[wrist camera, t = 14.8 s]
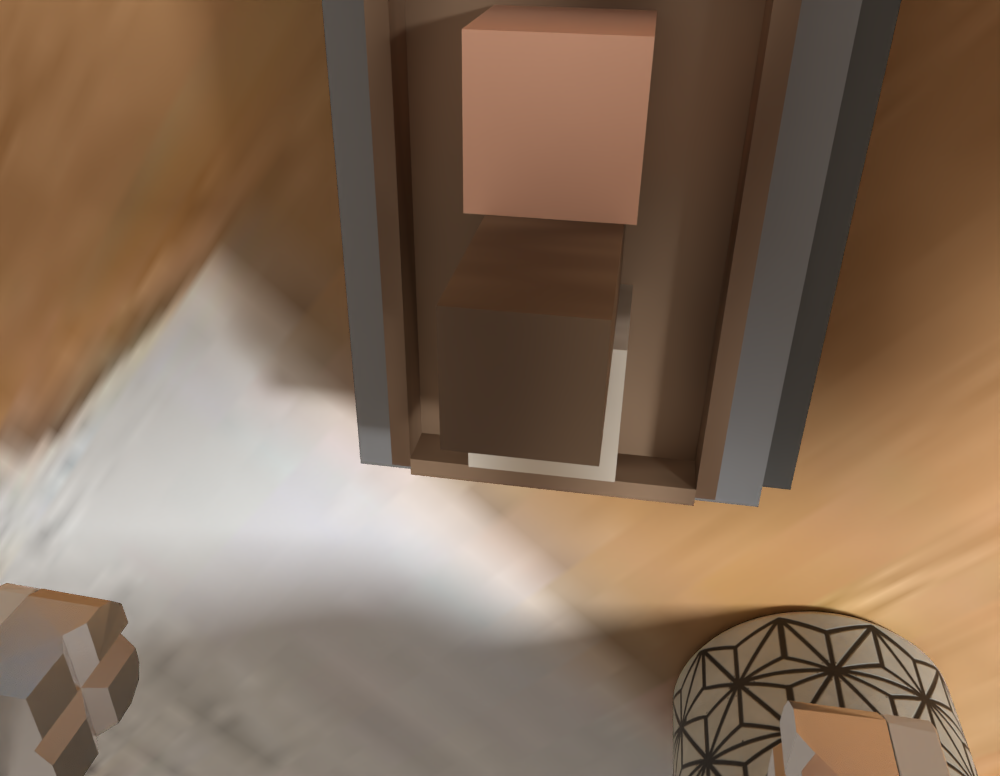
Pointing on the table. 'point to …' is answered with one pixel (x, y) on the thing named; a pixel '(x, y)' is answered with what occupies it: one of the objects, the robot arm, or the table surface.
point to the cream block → (611, 422)
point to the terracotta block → (556, 112)
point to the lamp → (800, 689)
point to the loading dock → (782, 251)
